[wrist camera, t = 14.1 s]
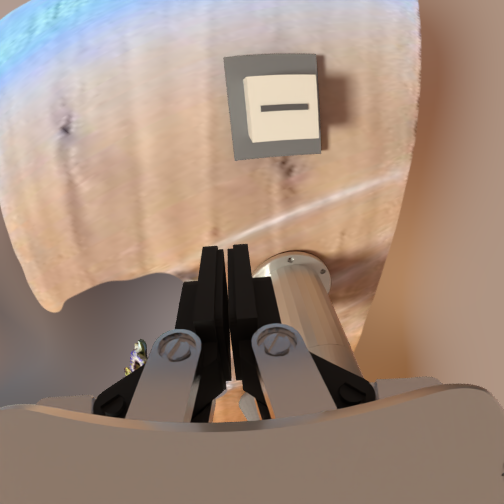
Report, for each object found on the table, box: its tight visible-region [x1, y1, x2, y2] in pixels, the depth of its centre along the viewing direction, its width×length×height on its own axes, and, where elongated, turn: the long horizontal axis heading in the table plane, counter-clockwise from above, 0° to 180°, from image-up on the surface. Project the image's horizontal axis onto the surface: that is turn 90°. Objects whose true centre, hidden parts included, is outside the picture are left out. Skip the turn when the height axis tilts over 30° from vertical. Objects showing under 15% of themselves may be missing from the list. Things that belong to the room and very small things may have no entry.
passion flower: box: [124, 339, 148, 376], centre depth 46 cm, size 11×11×12 cm
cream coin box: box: [243, 75, 319, 143], centre depth 25 cm, size 6×6×5 cm
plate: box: [224, 54, 321, 161], centre depth 28 cm, size 12×10×2 cm
